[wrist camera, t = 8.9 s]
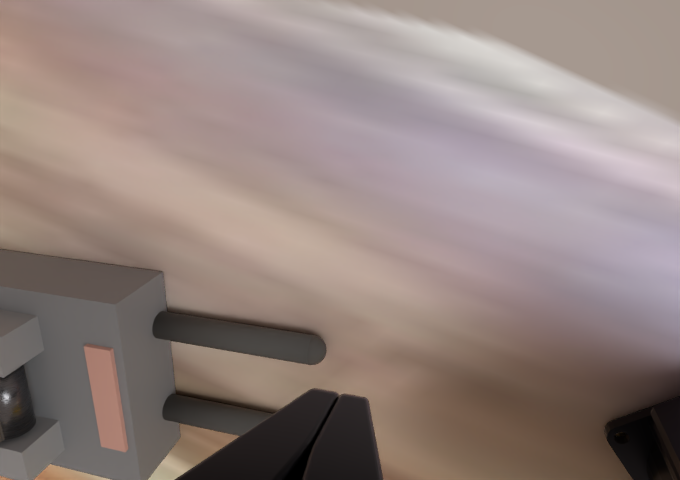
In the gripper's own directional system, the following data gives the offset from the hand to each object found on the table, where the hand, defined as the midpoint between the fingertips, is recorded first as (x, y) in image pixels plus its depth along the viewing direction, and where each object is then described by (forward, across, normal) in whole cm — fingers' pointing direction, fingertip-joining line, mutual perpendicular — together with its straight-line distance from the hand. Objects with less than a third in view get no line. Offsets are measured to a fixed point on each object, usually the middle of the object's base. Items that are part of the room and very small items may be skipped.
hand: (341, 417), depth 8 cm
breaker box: (+12, +16, +9) cm, 22 cm away
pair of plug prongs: (+12, +7, +9) cm, 17 cm away
